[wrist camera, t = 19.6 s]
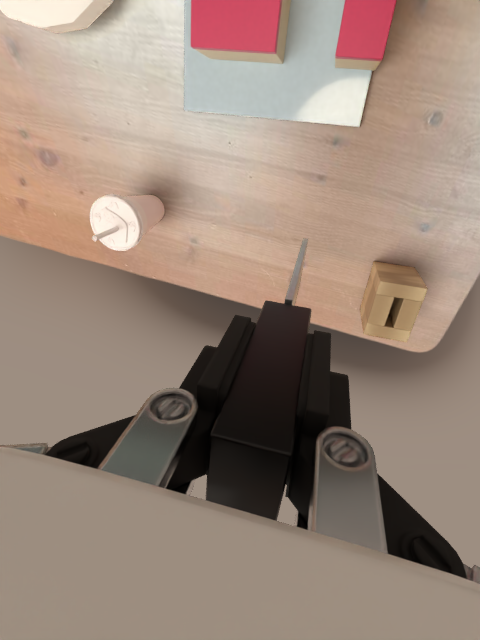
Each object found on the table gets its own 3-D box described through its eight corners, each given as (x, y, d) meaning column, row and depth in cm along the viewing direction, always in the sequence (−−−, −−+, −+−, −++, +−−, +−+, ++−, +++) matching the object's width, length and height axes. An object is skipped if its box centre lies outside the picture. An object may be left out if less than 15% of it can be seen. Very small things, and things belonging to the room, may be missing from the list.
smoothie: (148, 239, 50) (90, 272, 38) (122, 199, 48) (51, 220, 36) (182, 218, 47) (131, 247, 35) (155, 174, 45) (91, 189, 33)
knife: (320, 240, 21) (293, 449, 7) (311, 286, 22) (274, 532, 8) (291, 236, 21) (209, 427, 7) (283, 281, 22) (204, 511, 9)
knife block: (414, 267, 43) (427, 288, 37) (397, 316, 46) (406, 342, 40) (373, 261, 44) (380, 281, 38) (359, 309, 47) (363, 334, 41)
